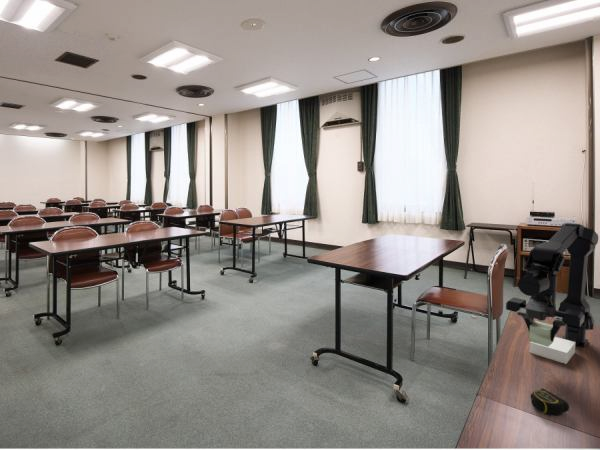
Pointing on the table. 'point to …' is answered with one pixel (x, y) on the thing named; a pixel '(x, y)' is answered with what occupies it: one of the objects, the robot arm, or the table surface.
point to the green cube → (540, 333)
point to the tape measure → (548, 403)
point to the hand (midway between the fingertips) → (541, 337)
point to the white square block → (555, 350)
